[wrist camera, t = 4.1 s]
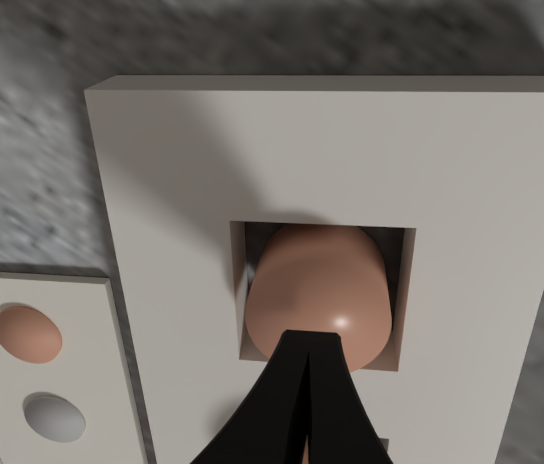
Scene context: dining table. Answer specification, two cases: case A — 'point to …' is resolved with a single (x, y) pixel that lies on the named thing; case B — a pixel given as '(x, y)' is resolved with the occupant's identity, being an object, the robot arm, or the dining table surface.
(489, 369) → the button board
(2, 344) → the pattern card
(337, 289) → the button
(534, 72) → the dining table surface
